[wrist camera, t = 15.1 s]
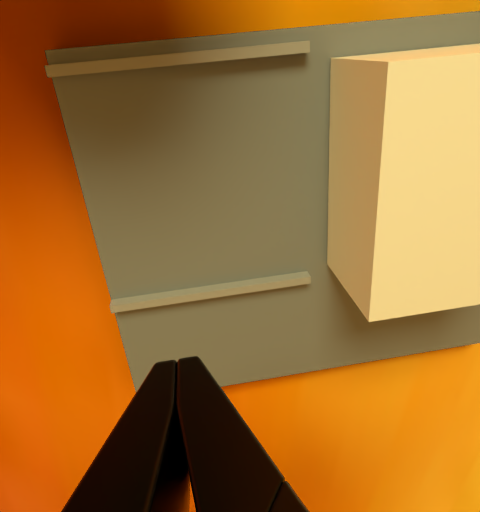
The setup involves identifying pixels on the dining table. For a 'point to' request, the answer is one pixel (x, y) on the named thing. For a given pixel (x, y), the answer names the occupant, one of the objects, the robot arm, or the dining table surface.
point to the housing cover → (405, 180)
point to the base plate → (232, 196)
